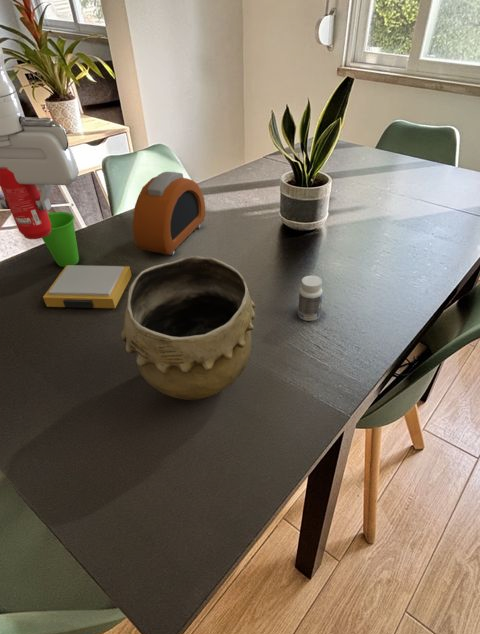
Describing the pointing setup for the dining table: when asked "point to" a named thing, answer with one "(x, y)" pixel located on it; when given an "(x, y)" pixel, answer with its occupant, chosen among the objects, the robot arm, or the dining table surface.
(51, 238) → the cup
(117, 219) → the dining table surface
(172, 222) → the alarm clock
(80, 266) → the scale
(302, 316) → the pill bottle
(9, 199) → the beverage can
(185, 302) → the clay pot
